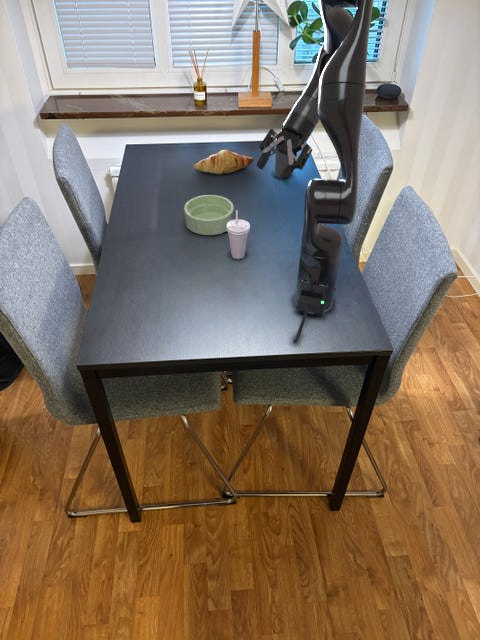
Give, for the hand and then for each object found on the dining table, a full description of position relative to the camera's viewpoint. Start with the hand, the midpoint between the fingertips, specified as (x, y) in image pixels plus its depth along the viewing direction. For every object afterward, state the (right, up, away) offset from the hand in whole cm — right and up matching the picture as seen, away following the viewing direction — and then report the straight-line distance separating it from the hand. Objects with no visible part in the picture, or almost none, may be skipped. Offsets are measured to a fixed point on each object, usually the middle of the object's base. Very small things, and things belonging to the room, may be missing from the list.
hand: (270, 173), depth 134 cm
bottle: (+7, +12, +43) cm, 45 cm away
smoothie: (-9, -21, +8) cm, 24 cm away
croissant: (-14, +15, +46) cm, 50 cm away
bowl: (-17, -9, +20) cm, 28 cm away
